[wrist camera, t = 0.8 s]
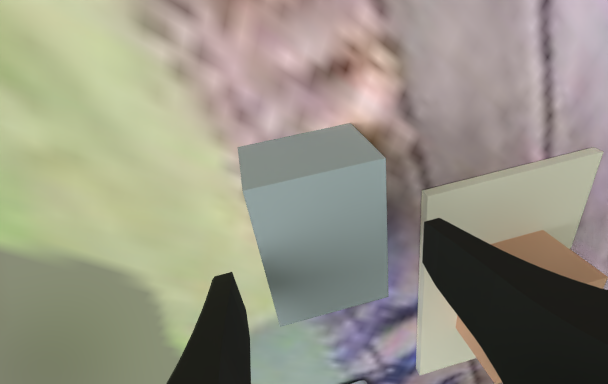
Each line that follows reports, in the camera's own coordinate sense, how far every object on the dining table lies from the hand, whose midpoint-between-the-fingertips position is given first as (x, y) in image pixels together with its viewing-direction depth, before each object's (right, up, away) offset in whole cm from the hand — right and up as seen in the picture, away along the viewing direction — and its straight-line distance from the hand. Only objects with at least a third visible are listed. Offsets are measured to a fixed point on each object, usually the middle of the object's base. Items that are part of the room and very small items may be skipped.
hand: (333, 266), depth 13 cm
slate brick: (-1, +2, +4) cm, 5 cm away
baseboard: (+11, -3, +10) cm, 15 cm away
